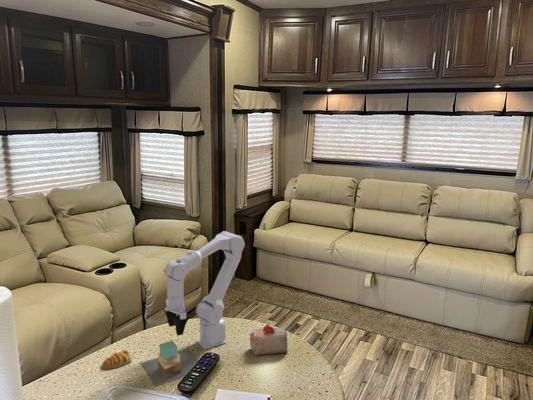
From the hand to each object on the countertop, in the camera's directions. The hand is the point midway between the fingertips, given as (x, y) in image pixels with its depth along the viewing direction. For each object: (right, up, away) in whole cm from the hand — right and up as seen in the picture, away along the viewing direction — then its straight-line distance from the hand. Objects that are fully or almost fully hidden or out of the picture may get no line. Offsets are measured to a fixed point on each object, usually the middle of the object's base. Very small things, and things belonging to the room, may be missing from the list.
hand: (176, 330), depth 147 cm
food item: (+34, -10, +6) cm, 36 cm away
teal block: (0, -5, -9) cm, 11 cm away
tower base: (0, -11, -8) cm, 14 cm away
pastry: (-20, -11, -3) cm, 23 cm away
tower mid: (0, -8, -8) cm, 12 cm away
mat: (0, -11, -5) cm, 12 cm away
